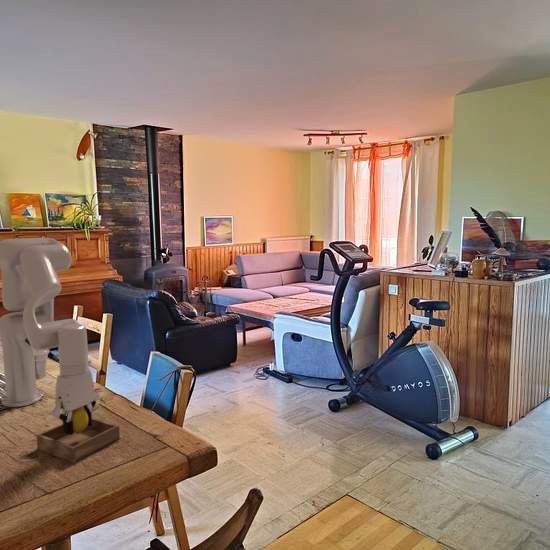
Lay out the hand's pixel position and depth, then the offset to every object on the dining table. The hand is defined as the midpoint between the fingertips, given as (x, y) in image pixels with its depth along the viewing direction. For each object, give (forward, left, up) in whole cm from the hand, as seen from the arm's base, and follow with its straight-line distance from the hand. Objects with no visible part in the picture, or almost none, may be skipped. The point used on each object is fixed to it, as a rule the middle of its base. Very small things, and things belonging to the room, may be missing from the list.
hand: (78, 428), depth 137 cm
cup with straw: (-63, +30, -5) cm, 70 cm away
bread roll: (-20, +18, -5) cm, 28 cm away
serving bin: (0, 0, -4) cm, 4 cm away
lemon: (0, 0, -2) cm, 2 cm away
